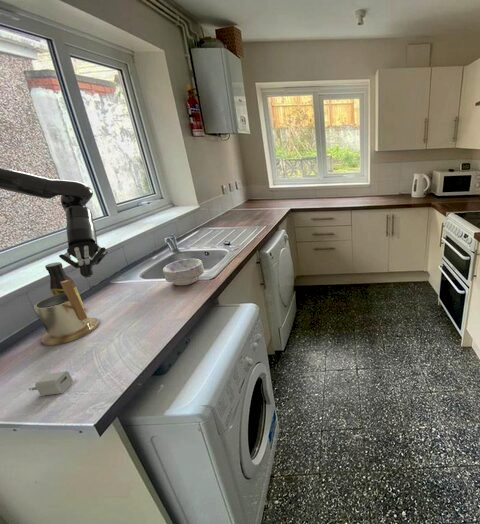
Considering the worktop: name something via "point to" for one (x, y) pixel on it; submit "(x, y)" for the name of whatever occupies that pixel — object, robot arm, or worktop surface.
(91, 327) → the turntable
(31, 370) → the worktop surface
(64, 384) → the usb wall charger
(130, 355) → the worktop surface
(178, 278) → the white purple floral bowl
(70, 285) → the flanged cylinder with handle
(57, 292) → the sauce bottle
